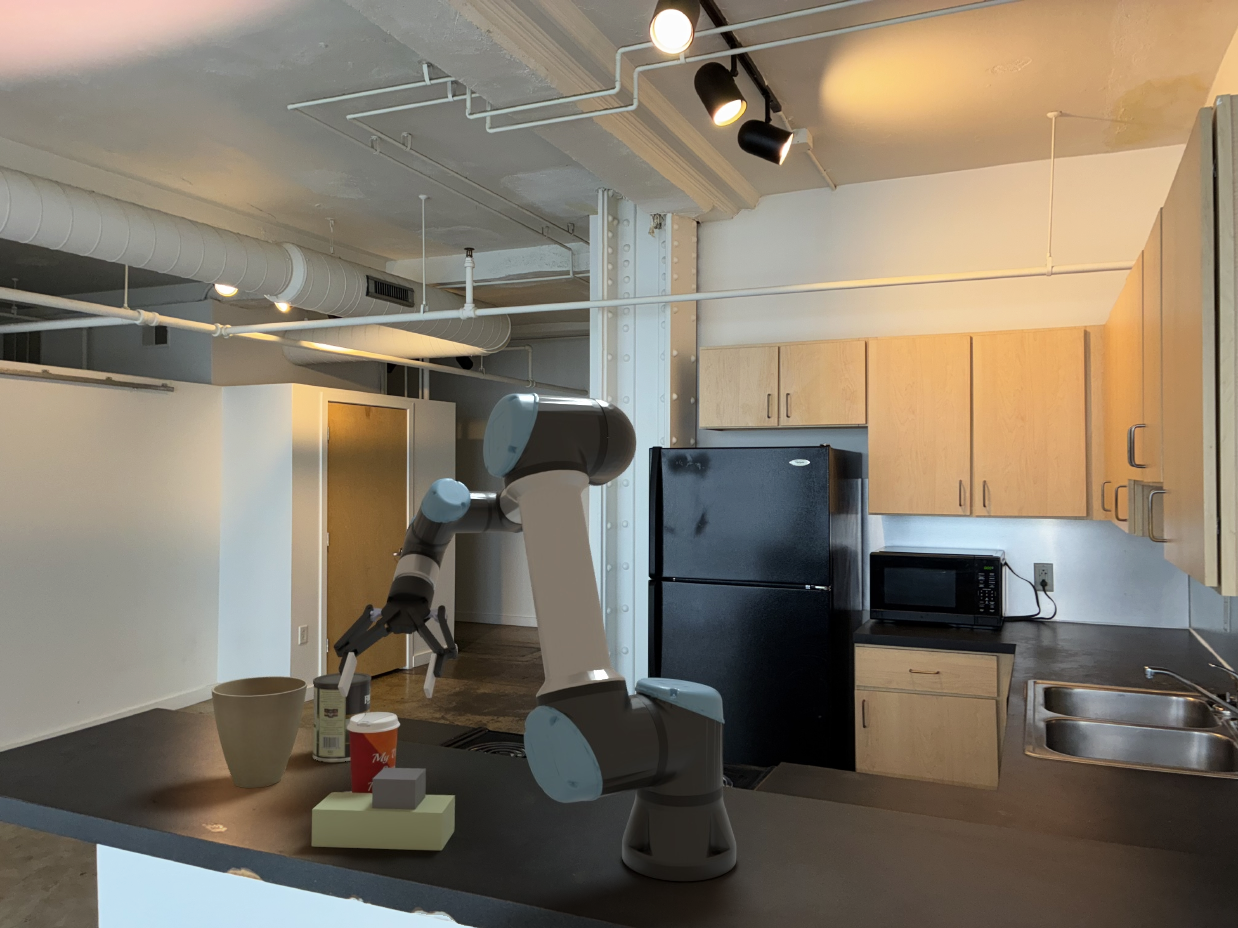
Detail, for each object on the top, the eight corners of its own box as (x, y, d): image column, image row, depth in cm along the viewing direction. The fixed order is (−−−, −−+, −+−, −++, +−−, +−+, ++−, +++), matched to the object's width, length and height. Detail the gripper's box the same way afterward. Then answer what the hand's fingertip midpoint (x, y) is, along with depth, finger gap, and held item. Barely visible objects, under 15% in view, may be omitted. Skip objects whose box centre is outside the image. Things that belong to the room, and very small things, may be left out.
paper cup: (384, 822, 128) (386, 724, 128) (335, 818, 129) (337, 721, 130) (407, 803, 135) (408, 711, 136) (361, 800, 137) (362, 709, 137)
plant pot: (188, 791, 142) (190, 692, 143) (248, 764, 157) (249, 674, 157) (270, 799, 139) (272, 697, 139) (323, 771, 153) (324, 678, 154)
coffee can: (367, 744, 170) (369, 670, 170) (372, 759, 160) (373, 681, 161) (311, 749, 166) (312, 673, 167) (312, 765, 157) (313, 685, 157)
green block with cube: (470, 806, 136) (471, 747, 137) (441, 850, 119) (442, 782, 120) (344, 802, 138) (345, 744, 138) (298, 845, 121) (299, 779, 121)
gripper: (487, 601, 156) (466, 706, 141) (348, 599, 158) (313, 704, 142) (480, 573, 151) (459, 680, 136) (338, 572, 153) (300, 677, 137)
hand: (384, 692), depth 139 cm, fingers open, 13 cm apart
